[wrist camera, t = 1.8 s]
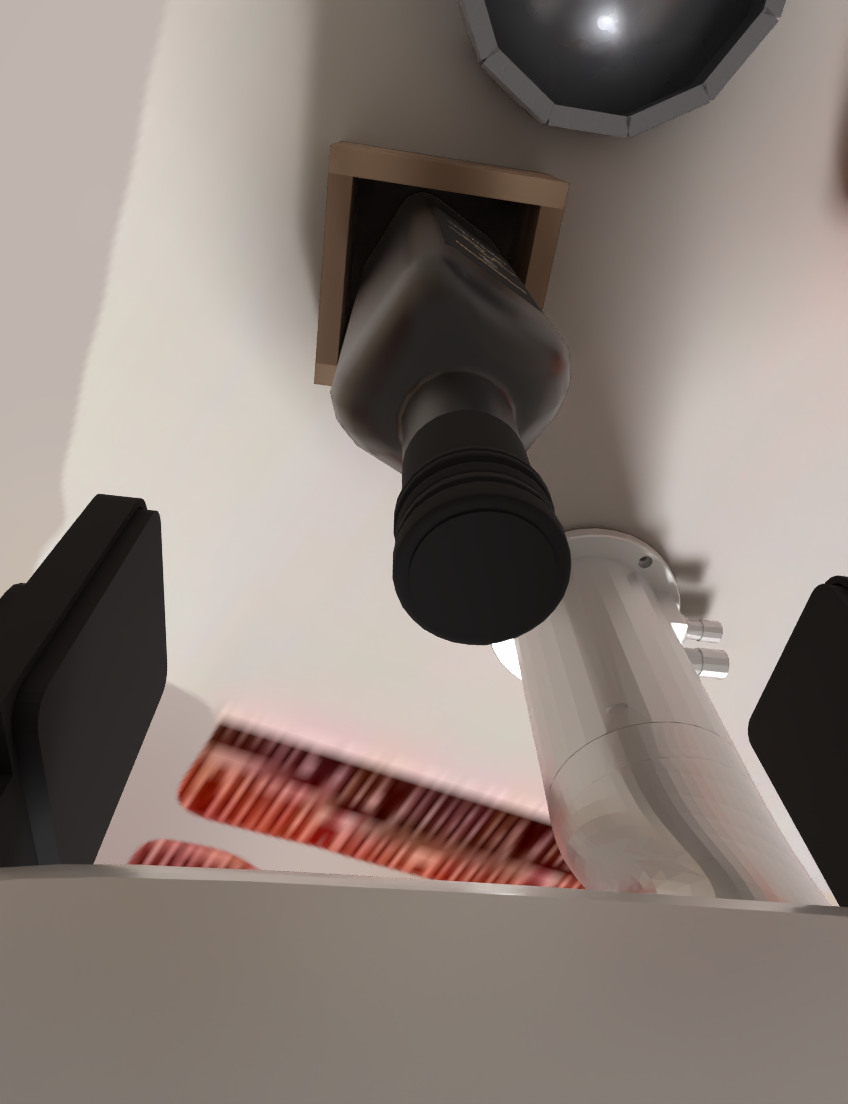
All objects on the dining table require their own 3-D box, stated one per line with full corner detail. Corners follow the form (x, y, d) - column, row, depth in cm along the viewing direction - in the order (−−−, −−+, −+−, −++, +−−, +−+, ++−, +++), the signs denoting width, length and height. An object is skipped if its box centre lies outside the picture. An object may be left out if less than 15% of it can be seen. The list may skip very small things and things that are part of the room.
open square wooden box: (546, 173, 36) (569, 183, 31) (506, 373, 41) (520, 410, 36) (341, 141, 35) (330, 145, 30) (325, 349, 40) (314, 383, 35)
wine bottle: (415, 180, 36) (442, 338, 10) (507, 251, 38) (727, 537, 12) (353, 281, 39) (250, 616, 13) (443, 343, 40) (512, 749, 14)
